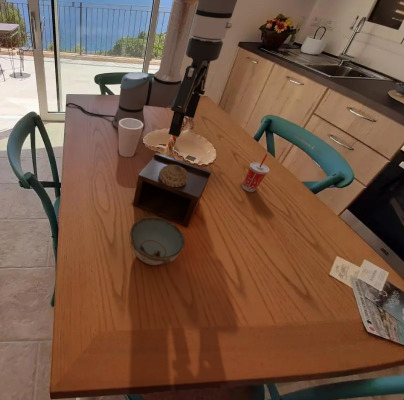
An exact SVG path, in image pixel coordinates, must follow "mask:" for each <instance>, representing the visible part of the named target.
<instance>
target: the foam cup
mask: <svg viewBox="0 0 404 400" xmlns="http://www.w3.org/2000/svg"><path fill="white" fill-rule="evenodd" d="M143 129H144V128H143V123H142V122H141V121H139V120H137V119H132V118H125V119H121V120H120V121H119V125H118V129H117V130H118V154H119V155H120V156H121V157H124V158H132V157H133V156H135V154H136V150H137V146H138V144H139V141H140V137H141V135H142V133H143Z"/></svg>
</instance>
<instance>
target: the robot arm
mask: <svg viewBox="0 0 404 400" xmlns="http://www.w3.org/2000/svg"><path fill="white" fill-rule="evenodd" d="M237 2H238V0H172V2H171V8H170V13H169V19H168V24H167V29H166V32H165V33H166V34H165V39H164V44H163V49H162V54H161V58H160V63H159V68H158V70H157V71H156V72H155V73H154V74H153V77H150V74H149V73H147V72H142V71H134V72H128V73H126V74H124V75H123V76H122V78H121V82H120V86H119V88H120V91H119V97H118V108H117V110H116V112H115V115H111V114H101V113H94V112H90V111H88V110H86V109H85V108H84V107H82V106H81V105H78V104H76V103H74V102H68V103H66V104H65V106H67V107H68V106H70V105H72V106H73V107H74V106H75V107H77V108H79V109H81V110H82V111H83V112H84V113H86V114H87V115H88V114H89V115H92V116H98V117H106V118H113V119H112V120H113V121H112V125H113V127H114V128H115V129H117V130H118V125H119V121H120V120H121V119H125V118H132V119H137V120H139V121H141V122H142V123H143V129H144V128H145V125H146V121H145V113H144V107H153V108H154V107H155V108H162V109H163V108H164V109H170V111H172V112H173V114H172V118H171V122H170V126H169V130H168V135H171V136H174V137H177V138H179V137H180V134H181V131H182V127H183V125H184V120H185V117H187V118H190V119H194V118H195V117H196V111H197V109H198V106H199V102H200V101H201V96H204V95H205V93H206V90H205V89H206V83H207V78H208V73H209V70H210V64H211V62H214V61H216V60H218V59H219V57H220V54H221V51H222V47H223V45H224V41H223V39H225V38H226V36H227V35H226V34H227V33H228V29H231V28H233V24H232V23H231V22H230V21H231V20H232V17H233V14H234V11H235V8H236V6H237ZM190 35H191V36H190ZM189 37H190V38H189ZM185 55H186V57H187V58H191V60H192V62H191V64H190V65H187V66H186V67H185V72H184V74H183V76H182V74H181V69H182V65H183V61H184V58H185V57H184V56H185Z"/></svg>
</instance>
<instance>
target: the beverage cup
mask: <svg viewBox="0 0 404 400" xmlns="http://www.w3.org/2000/svg"><path fill="white" fill-rule="evenodd" d="M267 156H268V153H266V154H265V155H264V157H263V158H262V161H261V162H256V161H255V162H251V163H250V164H249V168H248V170H247V173H246V175H245V177H244V179H243V182H242V185H241V188H242V189H243V190H244V191H246V192H248V193H249V192H250V193H254V192H255V191H256V190H257V189H258V187H259V186H260V184H261V183H262V181H263V180H264V178H265V177H266V175H267V174H269V172H270V168H269V167H268V166H267V165H266V164H264V162H265V161H266V158H267Z"/></svg>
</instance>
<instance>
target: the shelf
mask: <svg viewBox="0 0 404 400" xmlns="http://www.w3.org/2000/svg"><path fill="white" fill-rule="evenodd" d="M167 165H179V166H181V167H183V168H184V169H185V170H186V171H187V173H188V180H187V182H186V184H184V185H183V186H180V187H172V186H168V185H166V184H164V183H163V182H162V181H161V180H160V178H159V172H160V170H161V169H162V168H163V167H165V166H167ZM211 175H212V170H209V169H206V168H203V167H200V166H198V165H194V164H191V163H188V162H186V161H183V160H179V159H176V158H173V157H170V156H168V155H164V154H163V153H159V152H155V153H154V154H153V157H152V158H151V160H150V161H149V162H148V163H147V164H146V166H144V168H143V169H142V170H141V171H140V172H139V173H138V176H137V182H136V186H135V191H134V197H133V200H132V201H133V202H132V205H133V206H135V207H137V208H139V209H142V210H144V211H146V212H149V213H151V214H154V215H155V216H157V217H160V218H163V219H165V220H168V221H170V222H171V223H175V224H176V225H177V224H178V225H180V226H181V227H184V228H188V226H189V224H190V223H191V221H192V219H193V216H194V214H195V211H196V210H197V208H198V205H199V203H200V201H201V199H202V196H203V194H204V192H205V189H206V187H207V184H208V182H209V180H210V177H211Z"/></svg>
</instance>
